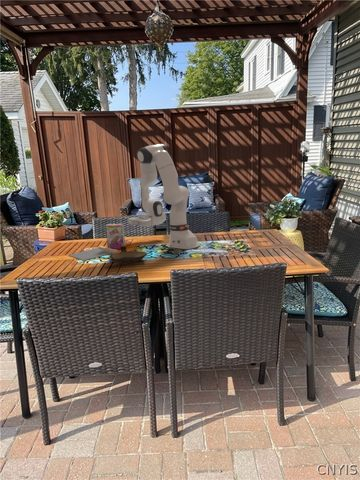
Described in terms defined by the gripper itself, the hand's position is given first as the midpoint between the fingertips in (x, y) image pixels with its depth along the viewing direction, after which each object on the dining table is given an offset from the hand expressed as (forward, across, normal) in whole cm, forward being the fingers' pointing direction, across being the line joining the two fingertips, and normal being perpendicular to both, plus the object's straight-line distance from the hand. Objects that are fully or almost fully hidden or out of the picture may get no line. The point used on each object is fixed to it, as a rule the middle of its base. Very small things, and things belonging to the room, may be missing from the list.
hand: (130, 223), depth 252 cm
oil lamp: (+26, +33, +15) cm, 45 cm away
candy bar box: (+13, 0, +15) cm, 20 cm away
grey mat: (+31, 0, +15) cm, 34 cm away
